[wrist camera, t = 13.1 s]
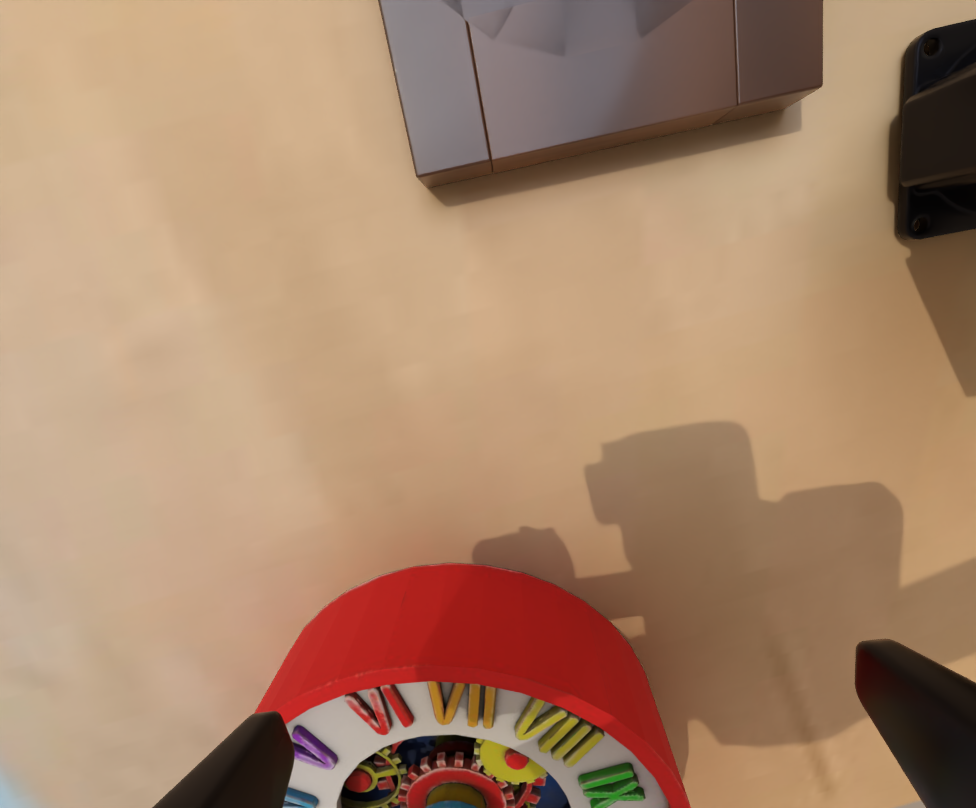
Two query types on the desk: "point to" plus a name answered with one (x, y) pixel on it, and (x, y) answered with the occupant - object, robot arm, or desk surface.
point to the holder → (587, 73)
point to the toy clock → (469, 700)
